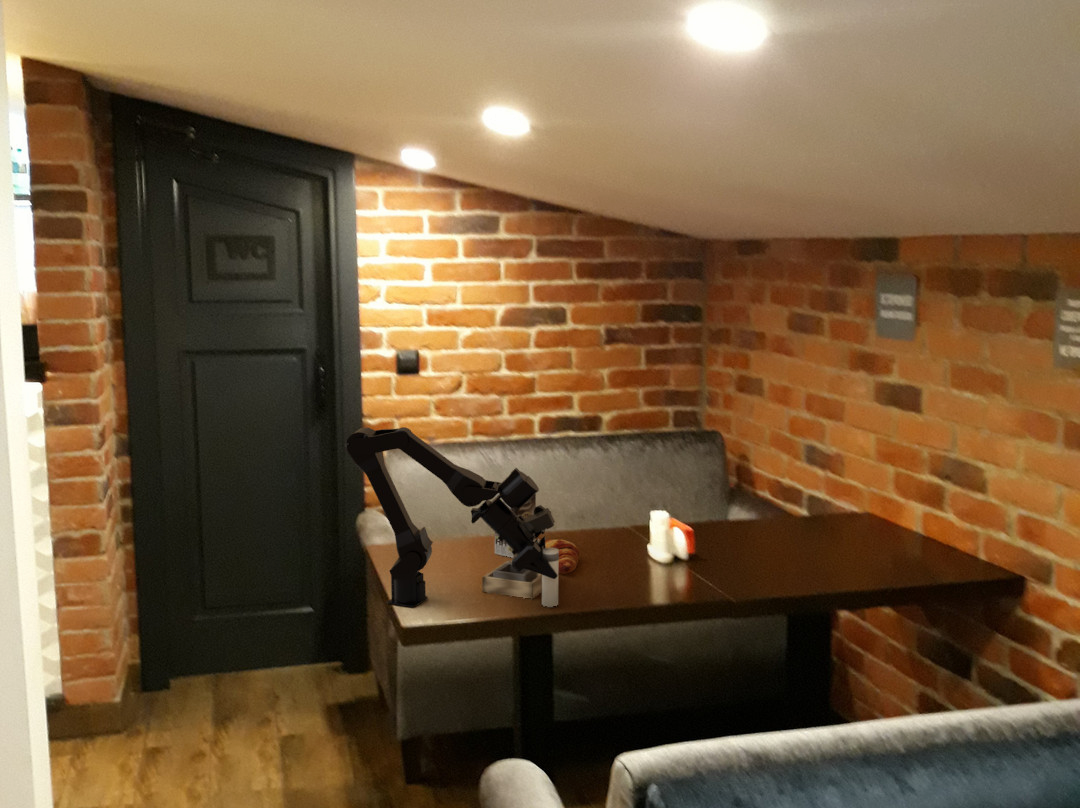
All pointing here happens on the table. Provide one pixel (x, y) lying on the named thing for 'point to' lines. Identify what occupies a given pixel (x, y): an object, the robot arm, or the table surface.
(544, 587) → the white banded cylinder
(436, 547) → the table surface
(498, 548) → the coffee box
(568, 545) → the croissant
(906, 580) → the table surface
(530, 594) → the box
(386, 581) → the table surface
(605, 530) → the table surface
